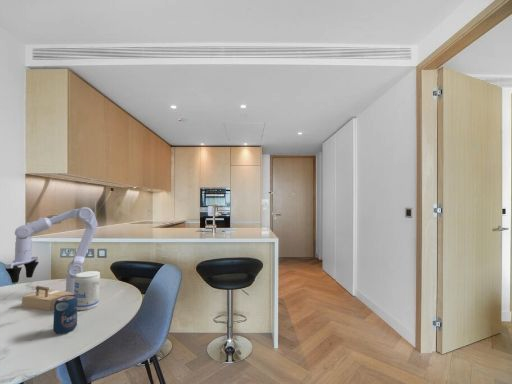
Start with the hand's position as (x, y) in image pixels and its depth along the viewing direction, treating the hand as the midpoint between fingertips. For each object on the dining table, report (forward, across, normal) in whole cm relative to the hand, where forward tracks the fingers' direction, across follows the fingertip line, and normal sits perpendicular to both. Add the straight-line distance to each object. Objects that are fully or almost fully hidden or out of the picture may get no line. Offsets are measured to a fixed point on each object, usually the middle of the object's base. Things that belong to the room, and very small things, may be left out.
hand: (22, 279), depth 120 cm
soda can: (+10, +28, +39) cm, 49 cm away
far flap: (+6, +6, +14) cm, 16 cm away
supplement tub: (+10, +7, +34) cm, 36 cm away
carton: (+10, +4, +14) cm, 18 cm away
